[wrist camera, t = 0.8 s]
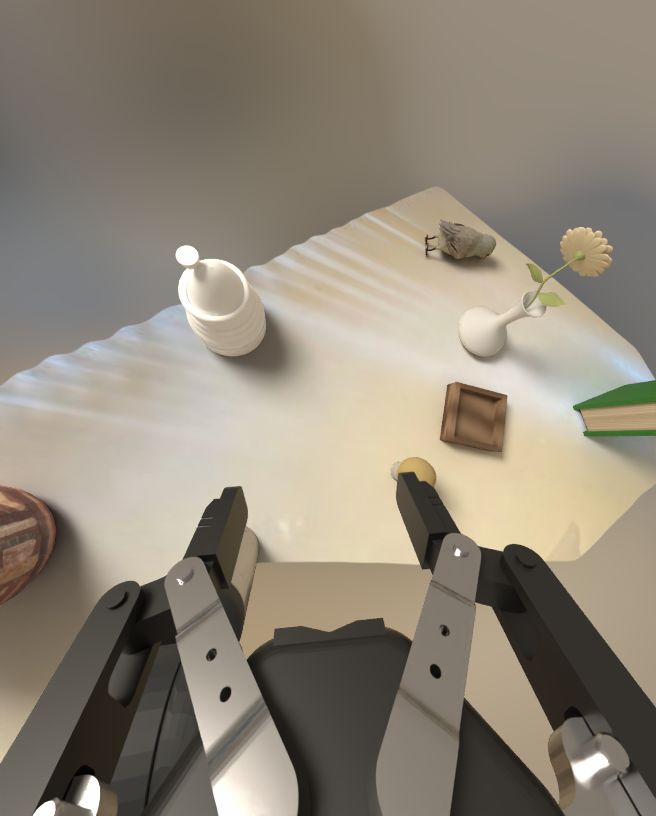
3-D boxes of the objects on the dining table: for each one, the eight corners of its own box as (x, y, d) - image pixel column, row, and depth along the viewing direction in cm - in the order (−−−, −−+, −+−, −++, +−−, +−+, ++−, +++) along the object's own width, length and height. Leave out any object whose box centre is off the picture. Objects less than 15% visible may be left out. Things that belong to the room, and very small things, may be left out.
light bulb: (394, 448, 52) (420, 450, 42) (418, 467, 52) (450, 473, 43) (377, 475, 51) (399, 483, 41) (402, 493, 51) (430, 507, 41)
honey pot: (186, 345, 48) (130, 291, 30) (207, 283, 49) (165, 198, 32) (256, 364, 49) (241, 323, 32) (273, 303, 51) (268, 233, 34)
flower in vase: (504, 352, 59) (660, 292, 35) (462, 364, 57) (598, 308, 32) (486, 299, 60) (627, 204, 36) (444, 308, 58) (563, 214, 33)
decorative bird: (482, 269, 61) (510, 246, 54) (420, 260, 58) (440, 234, 51) (481, 248, 62) (508, 222, 54) (419, 238, 59) (439, 209, 52)
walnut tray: (490, 451, 56) (501, 451, 53) (439, 439, 54) (448, 439, 51) (495, 397, 57) (507, 395, 54) (447, 384, 56) (456, 381, 53)
